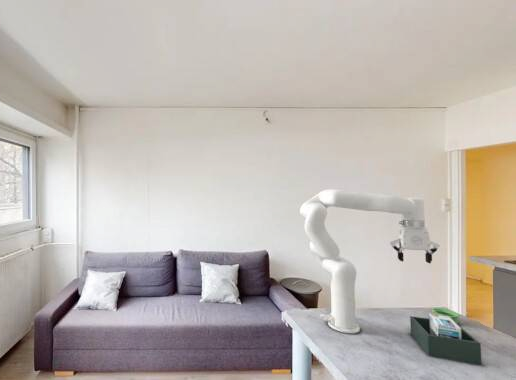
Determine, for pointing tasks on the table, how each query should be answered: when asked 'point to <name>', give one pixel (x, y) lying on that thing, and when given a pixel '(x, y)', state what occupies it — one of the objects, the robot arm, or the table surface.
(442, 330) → the light bulb box
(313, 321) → the table surface
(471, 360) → the open storage box
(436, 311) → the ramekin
